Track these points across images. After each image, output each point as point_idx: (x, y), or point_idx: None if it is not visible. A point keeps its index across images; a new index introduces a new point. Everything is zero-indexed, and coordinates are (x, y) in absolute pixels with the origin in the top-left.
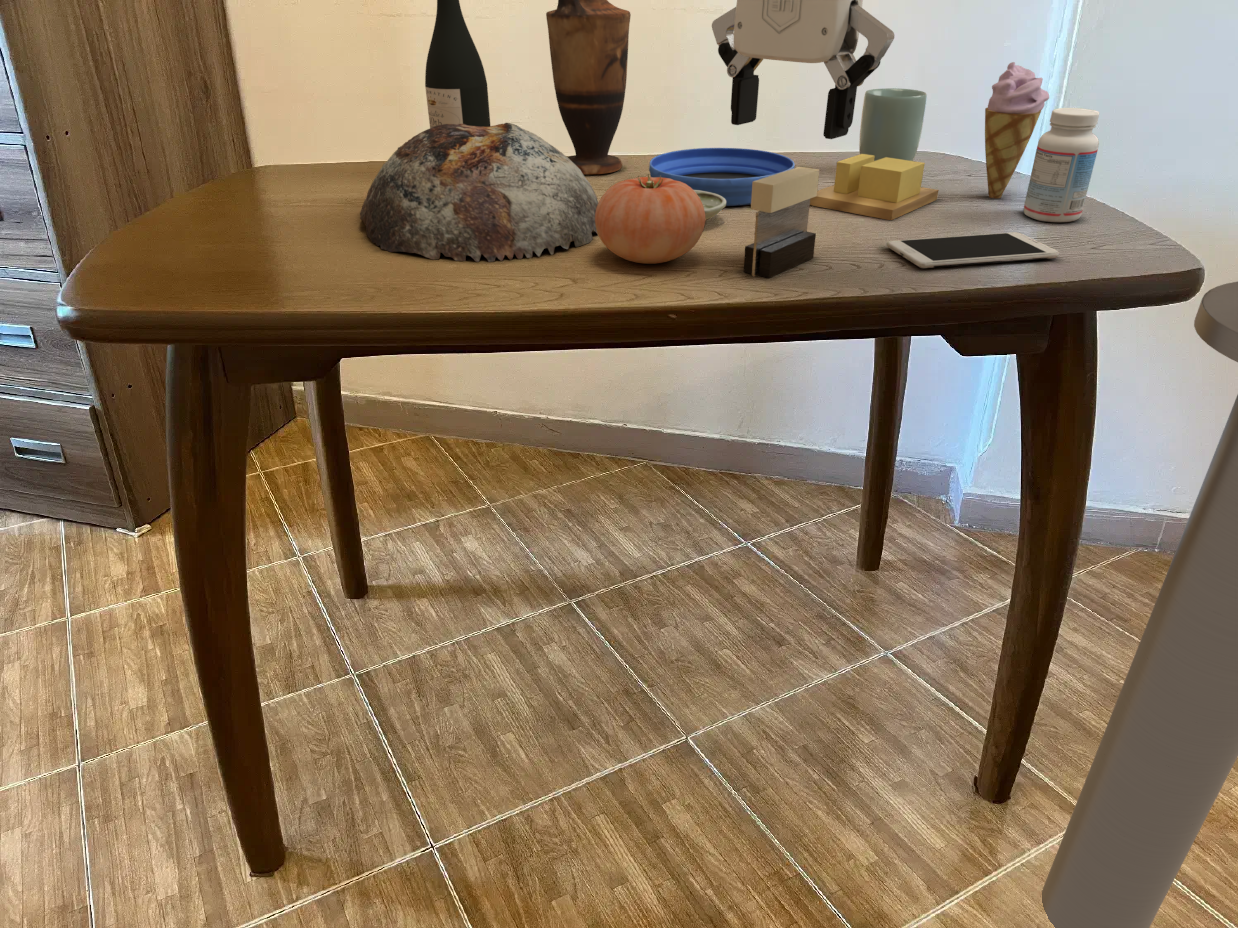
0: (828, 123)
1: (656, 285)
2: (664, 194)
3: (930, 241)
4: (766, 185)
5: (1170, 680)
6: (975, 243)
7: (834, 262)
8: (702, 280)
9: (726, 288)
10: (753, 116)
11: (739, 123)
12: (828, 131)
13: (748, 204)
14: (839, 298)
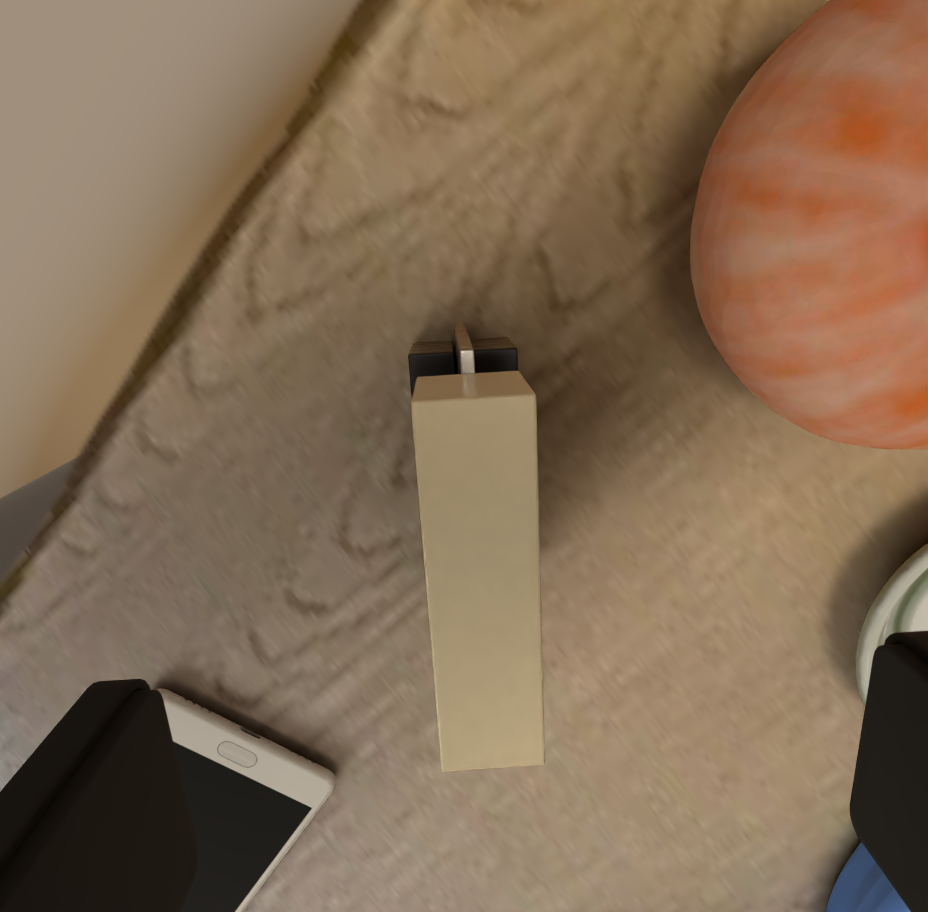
0: (66, 744)
1: (646, 18)
2: (900, 125)
3: (251, 849)
4: (449, 398)
5: (19, 508)
6: None
7: (368, 592)
8: (558, 179)
9: (452, 172)
10: (871, 820)
11: (877, 655)
12: (92, 705)
13: None
14: (157, 346)
